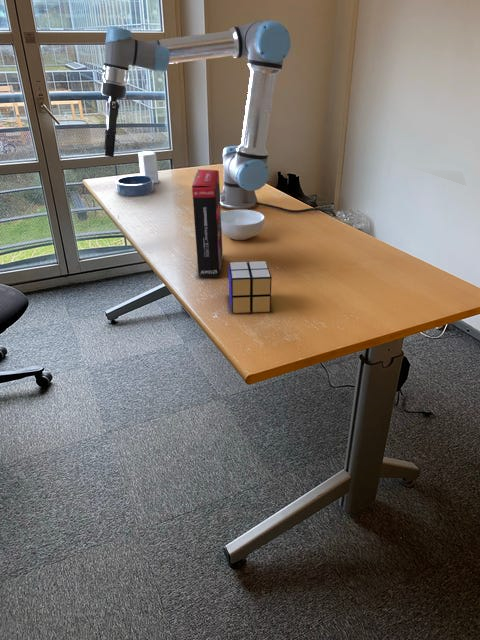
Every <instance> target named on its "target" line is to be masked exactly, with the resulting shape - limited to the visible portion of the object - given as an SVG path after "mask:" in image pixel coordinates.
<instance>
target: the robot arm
mask: <svg viewBox="0 0 480 640" xmlns="http://www.w3.org/2000/svg"><path fill="white" fill-rule="evenodd" d="M291 45H292V40H291V35H290V32H289V30H288V29H287V27H286V26H285V25H284V24H282V23H281V22H278V21H275V20H269V19H268V20H255V21H253V22H250V23H247V24H243V25H238V26H232V27H231V28H230V29H229V30H227V31H226V30H225V31H220V32H219V31H217V32H211V33H210V32H209V33H203V34H193V35H187V36H180V37H179V36H178V37H171V38H163V39H155V40H147V41H145V40H138V39H135V38H133V31H131V30H130V29H125V28H123V27H118V26H111V25H110V26H109V27H107V29H106V34H105V42H104V56H103V68H101V70H100V71H101V73H102V80H103V82H102V83H101V94H102V96H106V97H109V98H108V99H107V101H106V104H105V107H106V112H105V113H106V121H105V122H106V123H105V130H104V144H103V150H104V157H110V158H114V157H115V146H116V145H115V144H116V135H117V122H118V118H119V111H120V104H119V101H118V99H120V100H125V99H126V98H127V90H128V89H127V85H128V83H129V82H128V81H129V71H130V70H129V69H130V67H135V68H140V69H144V70H147V71H151V72H152V71H153V72H155V73H163V74H164V73H166V72H167V71H168V68H169V65H172V64H180V63H187V62H188V63H189V62H195V61H201V60H202V61H203V60H211V59H218V58H226V57H233V58H234V59H244V58H245V59H247V66H248V68H249V70H250V77H249V84H248V92H247V93H248V94H247V100H246V105H245V115H244V120H243V129H242V135H241V136H242V137H241V143H240V145H230V146H225V147H224V148H223V150H222V164H223V166H222V167H223V168H222V169H223V187H222V190H221V192H220V207H221V208H222V209H225V210H228V211H229V210H252V209H254V208H256V207H257V206H262V207H265V208H266V207H267V208H271V209H276V210H280V211H283V212H285V213H304V212H310V211H311V212H313V211H315V212H317V211H318V212H329V214H331V215H332V216H333V217H334V218H337V217H338V216H337V214H336V213H335V212H334V211H333V210H332V209H330V208H326V207H323V208H321V207H309V208H304V209H303V208H302V209H288V208H285V207H281V206H276V205H272V204H269V203H263V202H258V198H257V195H256V191H259V190H261V189H262V188H263V187H264V186H265V185H266V184H267V182H268V181H269V178H270V169H269V166H268V165H267V163H268V157H269V152H268V151H267V150H266V149H267V148H266V144H267V143H266V142H267V137H268V130H269V123H270V117H271V111H272V105H273V99H274V92H275V86H276V79H277V75H278V74H279V73H280V72H281V71H282V70H283V64H284V60H285V59H286V58H287V56H288V55H289V53H290V50H291Z"/></svg>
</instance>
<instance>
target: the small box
mask: <svg viewBox="0 0 480 640" xmlns="http://www.w3.org/2000/svg"><path fill="white" fill-rule="evenodd" d="M137 155H138V163H139V165H138V166H139V173H140V174H139V175H142V176H149V177H151V178H152V179H153V184H158V183H159V182H160V181H159V170H158V159H157V154H156V153H155V152H153V151H152V150H147V151H146V150H145V151H138V152H137Z"/></svg>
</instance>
